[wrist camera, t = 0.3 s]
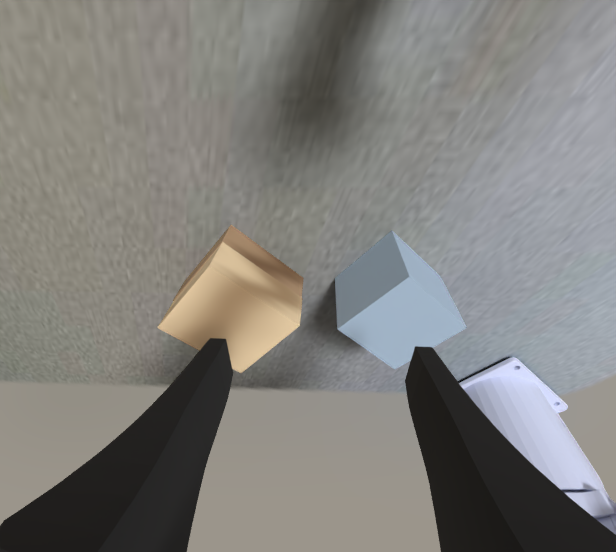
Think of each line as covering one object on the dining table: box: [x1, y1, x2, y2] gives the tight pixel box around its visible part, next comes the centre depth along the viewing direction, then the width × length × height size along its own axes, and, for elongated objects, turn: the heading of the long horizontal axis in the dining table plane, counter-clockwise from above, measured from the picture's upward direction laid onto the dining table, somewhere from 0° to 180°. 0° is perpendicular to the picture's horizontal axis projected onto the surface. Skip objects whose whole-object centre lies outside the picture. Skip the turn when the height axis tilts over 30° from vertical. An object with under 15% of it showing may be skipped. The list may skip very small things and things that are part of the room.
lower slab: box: [173, 225, 303, 301], centre depth 21 cm, size 6×6×2 cm
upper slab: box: [158, 242, 302, 373], centre depth 19 cm, size 6×6×2 cm
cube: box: [335, 231, 467, 369], centre depth 19 cm, size 5×5×5 cm
